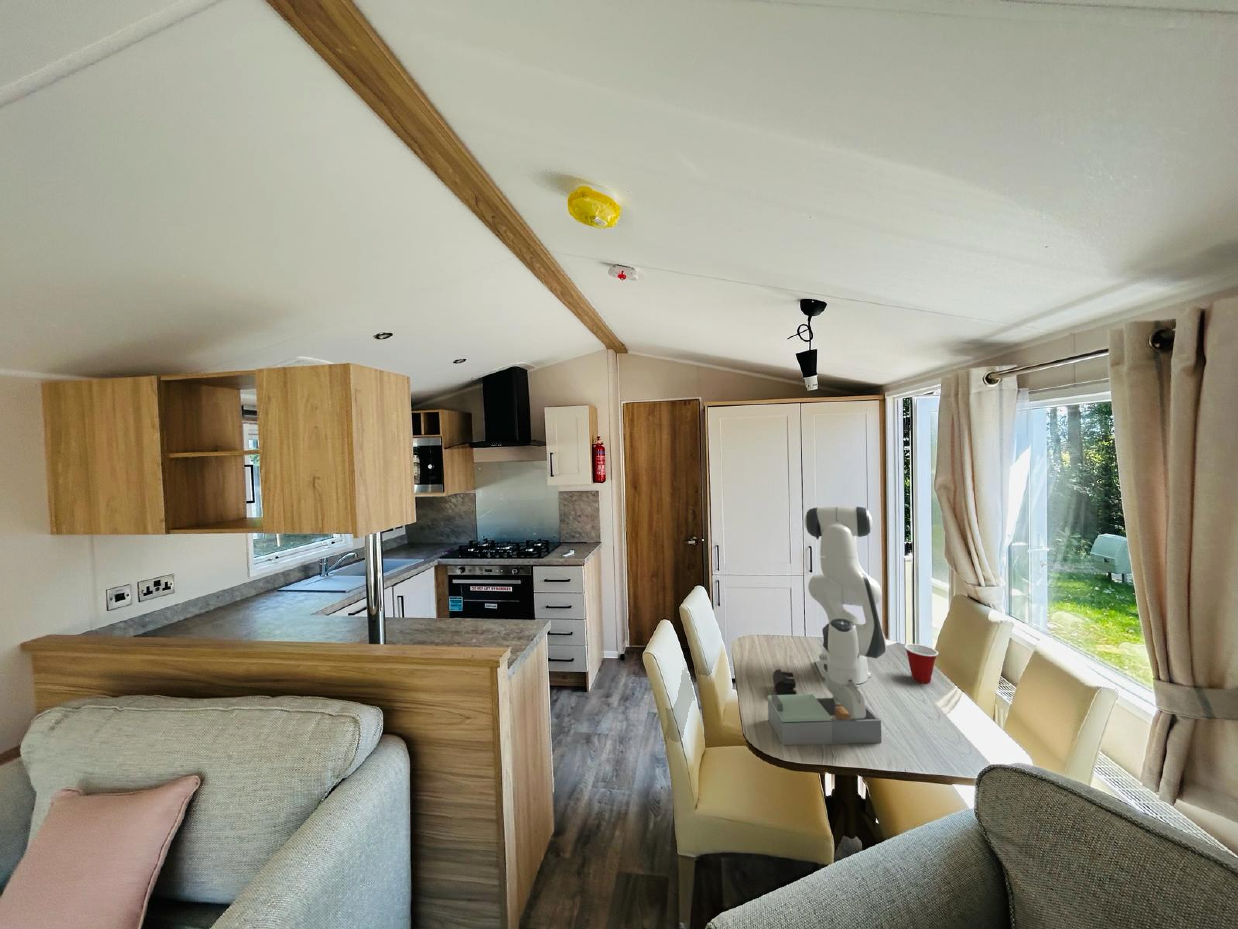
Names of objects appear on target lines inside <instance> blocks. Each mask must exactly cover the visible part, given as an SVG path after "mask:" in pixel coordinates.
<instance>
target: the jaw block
mask: <svg viewBox="0 0 1238 929" xmlns="http://www.w3.org/2000/svg"><path fill="white" fill-rule="evenodd" d="M848 719H850V716H849V713H848V712H847V710H846V709H845V708H844V707H843V706H842V707H835V720H848Z"/></svg>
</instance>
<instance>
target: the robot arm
mask: <svg viewBox="0 0 1238 929" xmlns="http://www.w3.org/2000/svg"><path fill="white" fill-rule="evenodd" d="M873 522H874V521H873V517H872V515H871V513H870V511H869V509H867V508H866V507H862V506H855V507H854V506H844V505H842V506H841V505H837V506H827V507H826V506H825V507H812V508H810V509H808V510H807V512H806V514H805V517H804V527H805V528H806V531H807V533H808V534H809V535H810V536H812V537H814V538H816V540H819V538H820V548H819V550H820V551H819V552H820V553H819V556H820V557H819V560H820V567H821V572H822V573H821V574H814V575H812V576H811V577H810V580H809V581H808V585H807V586H808V588H807V589H808V593H809V594H810V596H811V597H812V599H814V601H816V602H817V603H819V606H821V607H822V609H823V610H824V611H825V613H826V615H827V620H828V623H827V624H825V626H823V628H822V636H823V642H822V647H823V648H822V650H821V651H820V652H821V653H819V654H818V657H819V658H817V659H816V660H815V664H816V666H817V669H818V670H819V673H820V675H821V677H822V678H824V679H825V681H824V682H825V686H826V689H827V690H828V691H829V693H831V695H832V698H833V699H834V703H835V707H842V706H843V707H844V708H845V709H846V710H847V712H848V713H849V716H850V719H848V720H857V719H861V718H865V716H866V710H865V705H866V702H865V701H866V700H865V696H864V693H863V691H862V690H861V689H860V687H859V686H858V684H863V683H866V682H868V679H869V678H871V677H872V672H871V671H869V670H868V669H869V668H868V661H867V660H868V659H867V658H870V659H878V658H880V657H881V656H882V655H884V653H886V649H887V640H886V636H885V634H884V632H883V630H882V626H881V622H880V617H879V614H878V610H877V605H878V604H879V603H880V601H881V600H882V596H883V591H882V587H881V585H880V584H879V582H878V581H877V580H876V579H874V578H873V577H871V576H870V575H869V574H868V573H867V572H865V571H864V569H863V567H862V565H861V563H860V560H859V553H858V542H857V541H858V540H857V538H862V537H865V536H868V535H869V534H870V533H871V531H872V528H873V525H874V523H873ZM844 605H848V606H856V607H857V606H858V607H862V612H863V616H864V619H865V623H863V624H862V623H861V621H860V619H859V617H857V616H856V615H855V614H854V613H852V612H850V611H848V610H847V609H846V608H845V606H844Z"/></svg>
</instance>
